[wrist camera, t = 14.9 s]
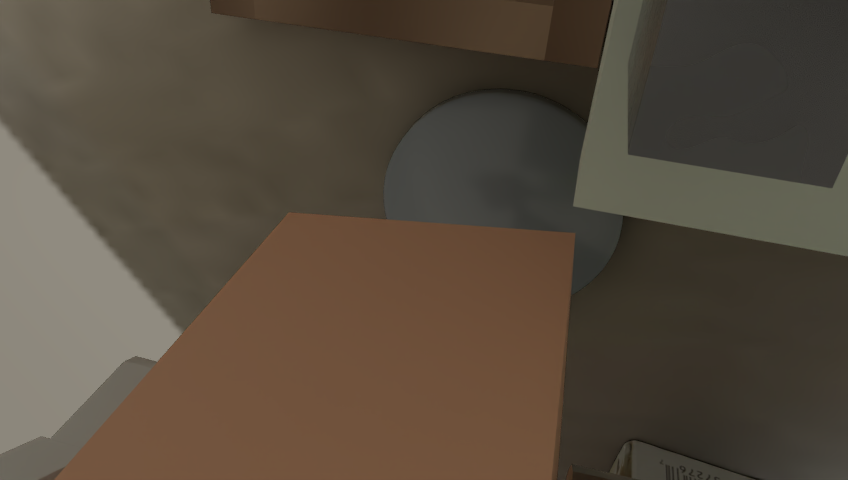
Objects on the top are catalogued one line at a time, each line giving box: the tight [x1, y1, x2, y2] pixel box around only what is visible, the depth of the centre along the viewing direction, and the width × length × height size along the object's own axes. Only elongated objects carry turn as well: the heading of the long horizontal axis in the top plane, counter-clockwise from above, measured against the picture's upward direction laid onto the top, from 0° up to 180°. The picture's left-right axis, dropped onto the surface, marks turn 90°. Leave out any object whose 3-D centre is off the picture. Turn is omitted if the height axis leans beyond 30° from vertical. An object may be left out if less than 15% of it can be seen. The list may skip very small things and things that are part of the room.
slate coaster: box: [383, 89, 623, 295], centre depth 15 cm, size 6×6×1 cm
